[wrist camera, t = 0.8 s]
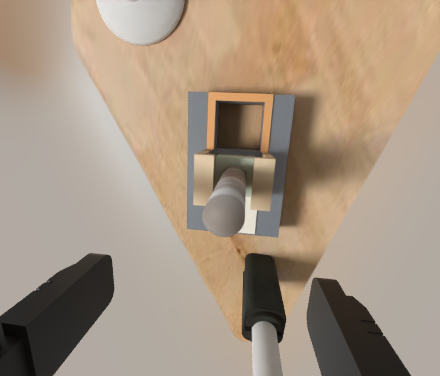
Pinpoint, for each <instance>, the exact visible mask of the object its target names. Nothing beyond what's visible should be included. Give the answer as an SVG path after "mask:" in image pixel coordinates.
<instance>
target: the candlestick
mask: <svg viewBox="0 0 440 376" xmlns="http://www.w3.org/2000/svg"><path fill="white" fill-rule="evenodd" d="M96 2H97V6H98V9H99V12H100V14H101V16H102V18H103V20H104V22H105V23H106V25H107V26H108V27H109V29H110V30H111V31H112V32H113V33H114V34H115V35H116V36H118V37H119V38H121V39H122V40H124V41H125V42H128V43H130V44H133V45H138V46H148V45H153V44H156V43H158V42H160V41H162V40H163V39H165V38H166V37H167V36H168V35H170V33H171V32H172V31H173V30H174V29H175V27H176V26H177V24H178V22H179V20H180V18H181V15H182V13H183V9H184V4H185V0H96Z"/></svg>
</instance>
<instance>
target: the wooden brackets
mask: <svg viewBox="0 0 440 376" xmlns="http://www.w3.org/2000/svg"><path fill="white" fill-rule="evenodd" d="M275 161H276V159H275V158H274V157H273V156H272V155H271V154H270V153H263V152H262V157H254V169H253V180H252V192H251V204H250V210H260V211H270V207H271V198H272V188H273V179H274V170H275ZM214 173H215V155H213V154H212V150H211V149H204V150H202V151H200V152H198V153H196V154H194V194H193V205H199V206H206V204H207V202H208V200H209V198H210V196H211V194H212V193H213V191H214Z"/></svg>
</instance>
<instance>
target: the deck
mask: <svg viewBox="0 0 440 376" xmlns="http://www.w3.org/2000/svg"><path fill="white" fill-rule="evenodd" d="M294 102H295V95H276V94H253V93H222V92H188V180H187V229H194V230H205V231H208V229H207V228H206V227H205V225H204V223H203V219H202V213H203V210H204V207H205V206H199V205H193V194H194V154H196V153H198V152H200V151H202V150H204V149H211V150H212V154H213V155H215V162H216V156H217V155H218V154H219V153H221V154H237V155H254V156H255V157H262V152H263V153H270V154H271V155H272V156H273V157H274V158H275V159H276V161H275V170H274V179H273V188H272V198H271V207H270V211H260V210H250V204H251V197H245V222H244V225H243V227H242V229H241V230H240V231H239V232H238V233H237V234H248V235H259V236H270V237H278V234H279V226H280V217H281V209H282V201H283V193H284V184H285V176H286V168H287V160H288V151H289V143H290V135H291V127H292V118H293V110H294ZM219 104H243V105H263V111H262V122H261V133H260V145H259V150H256V149H239V148H221V147H217V145H218V122H219ZM214 186H215V173H214Z"/></svg>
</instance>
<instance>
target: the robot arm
mask: <svg viewBox="0 0 440 376" xmlns="http://www.w3.org/2000/svg"><path fill="white" fill-rule="evenodd" d="M113 280H114V279H113V267H112V258H111V256H110V255H104V254H95V253H89V254H88V255H86V256H85V257H84V258H82V259H81V260H80V261H79V262H77V263H76V264H74V265H71V266H69V267H67V268H65V269H63V270H61V271H59V272H58V273H56V274H55V275H54V276H53V277H51V278H50V279H49V280H48V281H47V282H46V283H44V284H42V285H41V286H39V287H38V288H37V289H36V291H33V292H32V293H30V294H29V295H28V296H26V297H25V298H24V299H23V300H21V301H20V302H18V303H17V304H16V305H15V306H13V307H12V308H10V309H9V310H8V311H6V312H5V313H4V314H3V315H1V316H0V376H53V375H54V374H55V372H56V371H57V370H58V368H59V367H60V366H61V365H62V363H63V362H64V361H65V360H66V358H67V357H68V356H69V354H70V353H71V352H72V350H73V349H74V348H75V347H76V346H77V344H78V343H79V342H80V340H81V339H82V338H83V337H84V335H85V334H86V333H87V332H88V330H89V329H90V328H91V326H92V325H93V324H94V323H95V321H96V320H97V319H98V318H99V316H100V315H101V314H102V312H103V311H104V310H105V309H106V307H107V306H108V305H109V303H110V302H111V299H112V297H113V293H114V281H113ZM307 327H308V331H309V335H310V338H311V341H312V345H313V348H314V351H315V354H316V358H317V361H318V365H319V368H320V371H321V375H322V376H411V375H410V374H409V372H408V370H407V369H406V368H405V366H404V365H403V363H402V361H401V360H400V359H399V357H398V355H397V354H396V353H395V351H394V349H393V348H392V346H391V345H390V343H389V342H388V340H387V339H386V337H385V336H383V333H382V332H381V330H380V328H379V327H378V325H377V324H375V321H374V319H373V318H372V316H371V315H370V313H369V311H368V310H367V308H366V307H364V306H363V305H362V304H361V303H360V302H359V301H358V300H356V299H355V298H354V297H353V296H346V295H345V293H344V291H343V290H342V288H341V286H340V285H339V283H338V282H337V280H332V279H323V278H314V279H313V281H312V285H311V291H310V297H309V303H308V309H307Z"/></svg>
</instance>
